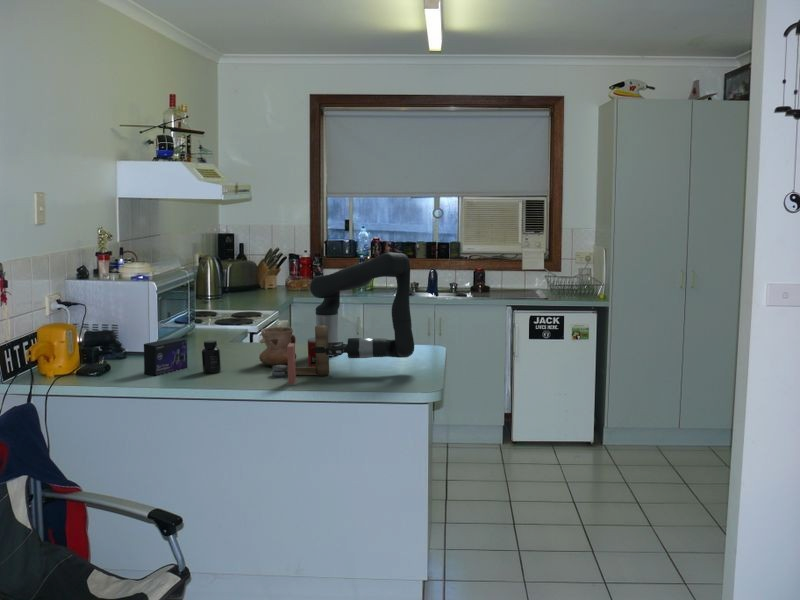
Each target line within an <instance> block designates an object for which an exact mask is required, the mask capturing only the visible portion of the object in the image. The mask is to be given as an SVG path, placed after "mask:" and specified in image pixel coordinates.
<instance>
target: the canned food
mask: <svg viewBox="0 0 800 600" xmlns="http://www.w3.org/2000/svg"><path fill="white" fill-rule="evenodd" d="M314 347H315V337H310V338H308V339H307V358H308V359H307V360H308V361H307V362H308V363H307V364H308V367H316V353H314Z"/></svg>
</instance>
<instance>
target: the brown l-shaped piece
mask: <svg viewBox="0 0 800 600" xmlns="http://www.w3.org/2000/svg"><path fill="white" fill-rule="evenodd" d="M314 338H315V345H316V347H329V346H328V326H316V325H315V326H314ZM295 367H296V376H311V375H312V376H313V375H315V376H320V377H323V376H328V375H330V357H329V355H326V354H324V353H316V367H309V366H295ZM272 370H273V371H285V370H288V365H276V366H272Z"/></svg>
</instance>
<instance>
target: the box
mask: <svg viewBox="0 0 800 600" xmlns="http://www.w3.org/2000/svg"><path fill="white" fill-rule="evenodd" d="M143 365H144V366H143V369H144V370H143V373H144V375H146V374H149V375H148V376H152V375H158V376H161V375H160V374H162V375H164V373H166V374H169V373H168V372H170V373H173V372H172V371H174V372H177V371H176V370H178V371H181V370H180V369H182V370H185V368H186V369H188V339H187V338H181V337H176V336H175V337H171V338H167V339H162V340H158V341H152V342H147V343H144V344H143Z"/></svg>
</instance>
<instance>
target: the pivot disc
mask: <svg viewBox="0 0 800 600" xmlns="http://www.w3.org/2000/svg"><path fill="white" fill-rule="evenodd" d="M271 377H273V378H286V377H288V370H285V371H273V369H272V370H271Z"/></svg>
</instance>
